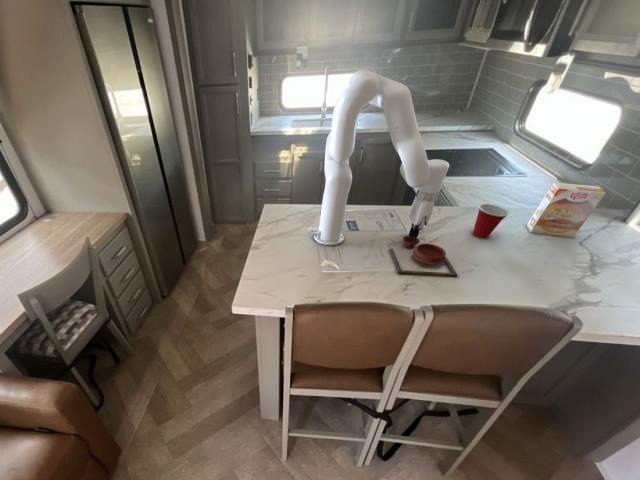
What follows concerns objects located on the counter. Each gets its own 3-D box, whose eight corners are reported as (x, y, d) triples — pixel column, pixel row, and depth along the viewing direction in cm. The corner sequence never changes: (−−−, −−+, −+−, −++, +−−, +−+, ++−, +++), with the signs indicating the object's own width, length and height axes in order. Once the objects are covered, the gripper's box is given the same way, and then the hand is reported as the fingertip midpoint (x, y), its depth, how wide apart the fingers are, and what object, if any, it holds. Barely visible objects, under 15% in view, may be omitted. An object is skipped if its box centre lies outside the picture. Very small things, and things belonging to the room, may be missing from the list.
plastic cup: (500, 242, 131) (515, 215, 124) (471, 240, 133) (484, 213, 125) (490, 229, 139) (503, 203, 131) (463, 227, 141) (475, 202, 133)
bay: (398, 274, 118) (399, 271, 117) (389, 250, 130) (390, 248, 129) (456, 276, 115) (457, 274, 114) (441, 252, 127) (442, 250, 127)
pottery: (424, 271, 118) (428, 261, 115) (391, 244, 133) (394, 235, 130) (450, 265, 120) (455, 255, 117) (416, 240, 135) (419, 231, 132)
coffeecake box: (530, 232, 136) (558, 188, 123) (526, 225, 141) (552, 181, 128) (573, 238, 131) (607, 192, 119) (567, 230, 136) (599, 185, 124)
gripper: (411, 187, 127) (399, 228, 139) (422, 202, 116) (408, 245, 128) (431, 187, 126) (417, 228, 138) (444, 202, 115) (427, 246, 127)
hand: (412, 236), depth 133 cm, fingers closed
